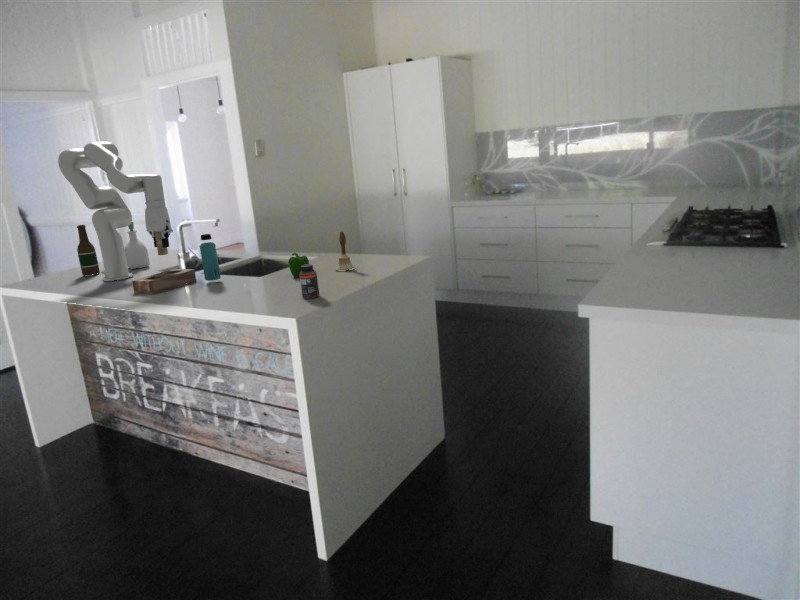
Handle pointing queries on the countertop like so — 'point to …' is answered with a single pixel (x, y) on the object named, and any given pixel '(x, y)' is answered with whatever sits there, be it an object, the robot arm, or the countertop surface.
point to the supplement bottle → (309, 282)
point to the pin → (160, 244)
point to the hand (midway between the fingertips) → (161, 246)
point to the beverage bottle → (209, 259)
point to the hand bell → (344, 255)
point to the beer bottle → (86, 253)
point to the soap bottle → (136, 251)
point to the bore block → (163, 281)
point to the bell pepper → (297, 264)
